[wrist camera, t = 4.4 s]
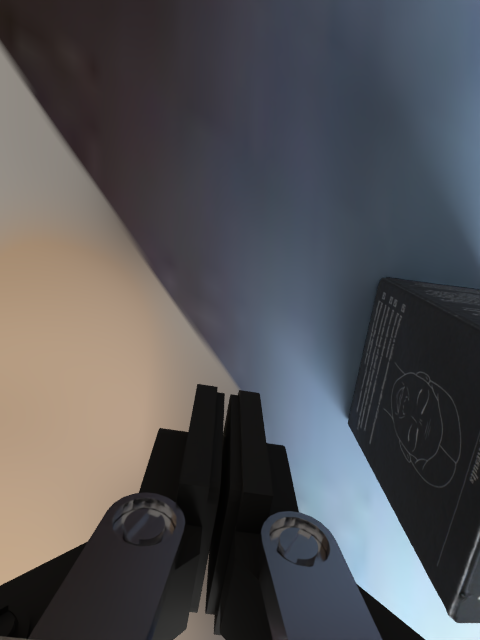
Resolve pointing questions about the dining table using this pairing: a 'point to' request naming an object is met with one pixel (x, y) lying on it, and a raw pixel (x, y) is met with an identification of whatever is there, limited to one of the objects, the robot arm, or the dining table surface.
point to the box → (427, 427)
